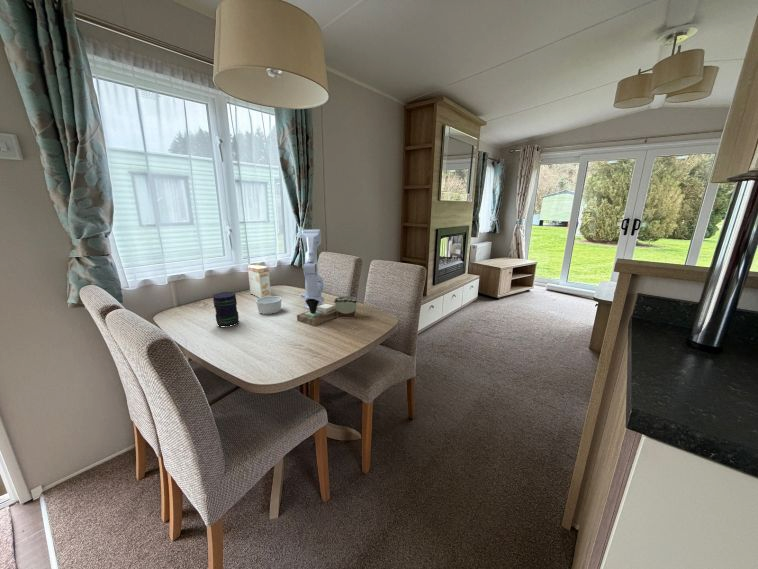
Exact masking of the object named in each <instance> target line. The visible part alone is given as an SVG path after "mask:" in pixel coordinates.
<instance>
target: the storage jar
mask: <svg viewBox="0 0 758 569" xmlns="http://www.w3.org/2000/svg"><path fill="white" fill-rule="evenodd" d="M236 297H237V296H236V293H235V292H234V291H225V292H218V293H214V294H213V295H212V298H213V307H214V308H215V309H214V310H215V321H216V323H217V324H218V325H219V326H230V325H234V324H236V323H238V322H239V323H240V320H239V312H238V308H237V304H238V302H237V298H236ZM239 323H238V324H239ZM217 324H216V325H217ZM234 326H235V325H234Z"/></svg>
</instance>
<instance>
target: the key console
mask: <svg viewBox="0 0 758 569" xmlns="http://www.w3.org/2000/svg"><path fill="white" fill-rule="evenodd" d="M316 311H319V310H318V308H316ZM307 312H310V310H308V311H304V312H302V313H299V314H296V321H297V322H300V323H303V324H306V325H309V326H312V327H315V326H317V325H320V324H321V323H324V322H327V321H329V320H331V319H332V320H333V319H334V318H335V317H336V318H337V312H336V306H334V310H331V311H329V312H322V311H319V312H322V314H321V315H319V316H316V317H314V318H312V317H309V316H306V315H305V313H307Z"/></svg>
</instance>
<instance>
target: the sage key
mask: <svg viewBox="0 0 758 569" xmlns="http://www.w3.org/2000/svg"><path fill="white" fill-rule="evenodd" d="M306 312H307V311H306ZM321 314H322V312H319V311H316V313H313V314H312V313H311V312H307V313H305V315H306V316H309V317H312V318H314V317H316V316H319V315H321Z"/></svg>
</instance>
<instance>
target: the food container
mask: <svg viewBox="0 0 758 569" xmlns="http://www.w3.org/2000/svg"><path fill="white" fill-rule="evenodd" d="M333 303H335V305H334V306H335V307H336V312H337V316H336V318H341V319H342V318H344V319H356V313H357V312H356V311H357V304H358V299H357V298H356V297H355V296H349V295H344V296H339V297H336V298H334V300H333Z"/></svg>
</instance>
